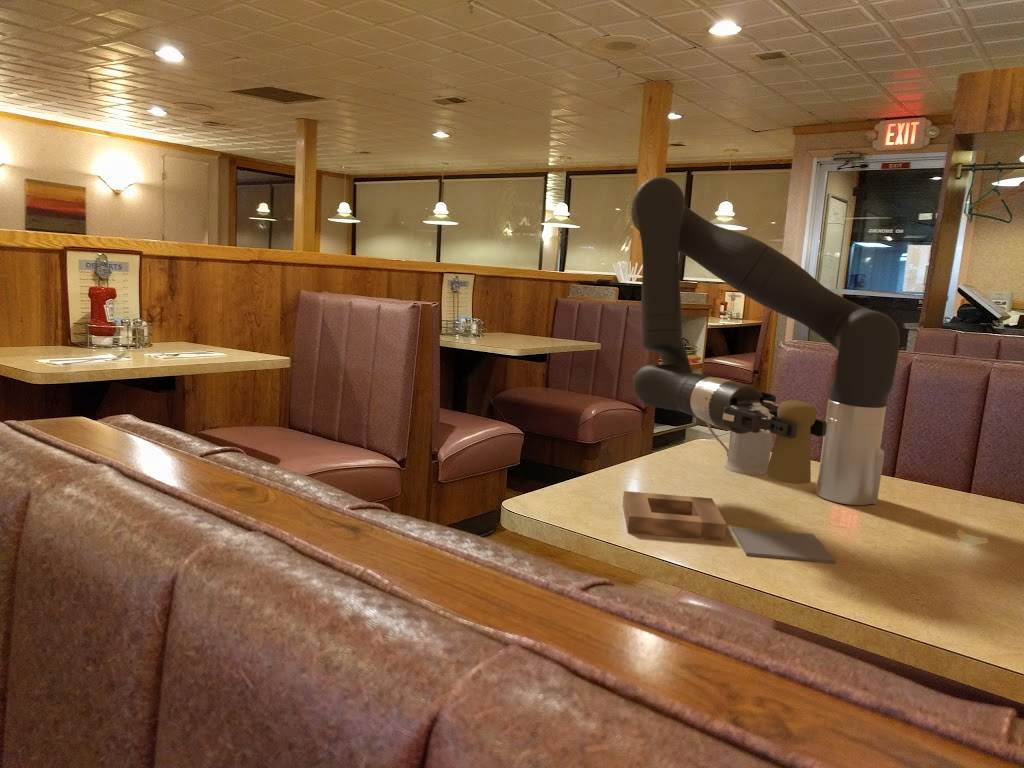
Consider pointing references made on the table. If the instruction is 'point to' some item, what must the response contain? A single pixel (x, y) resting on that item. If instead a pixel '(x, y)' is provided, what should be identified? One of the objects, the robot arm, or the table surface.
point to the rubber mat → (782, 545)
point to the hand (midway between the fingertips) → (809, 430)
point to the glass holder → (749, 449)
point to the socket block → (673, 516)
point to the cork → (793, 445)
